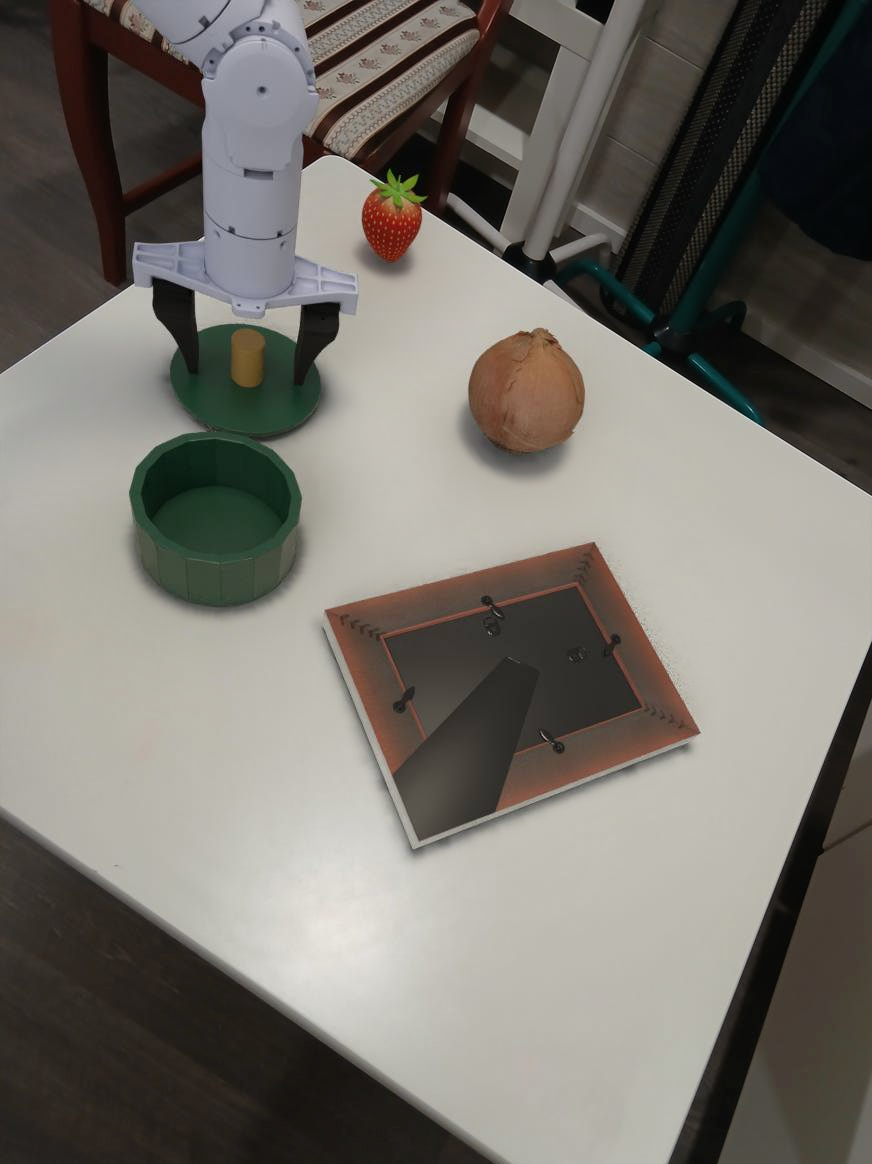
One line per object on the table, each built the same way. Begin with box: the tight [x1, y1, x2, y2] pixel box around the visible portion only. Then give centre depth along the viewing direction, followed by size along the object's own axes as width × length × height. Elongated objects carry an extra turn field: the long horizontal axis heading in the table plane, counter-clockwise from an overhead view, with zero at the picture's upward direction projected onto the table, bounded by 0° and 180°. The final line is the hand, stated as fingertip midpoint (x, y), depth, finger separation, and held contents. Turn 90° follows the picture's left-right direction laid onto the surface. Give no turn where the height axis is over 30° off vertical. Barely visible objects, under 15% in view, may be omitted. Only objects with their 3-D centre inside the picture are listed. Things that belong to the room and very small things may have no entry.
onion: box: [467, 327, 586, 456], centre depth 67 cm, size 10×9×10 cm
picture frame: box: [321, 541, 701, 850], centre depth 58 cm, size 16×2×22 cm
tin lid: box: [169, 323, 322, 438], centre depth 64 cm, size 11×11×5 cm
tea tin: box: [128, 430, 303, 608], centre depth 56 cm, size 10×10×5 cm
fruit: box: [361, 168, 429, 263], centre depth 73 cm, size 5×5×8 cm
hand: (246, 369), depth 64 cm, fingers open, 7 cm apart
